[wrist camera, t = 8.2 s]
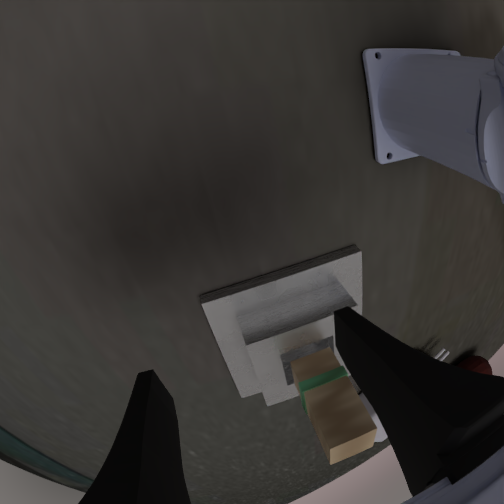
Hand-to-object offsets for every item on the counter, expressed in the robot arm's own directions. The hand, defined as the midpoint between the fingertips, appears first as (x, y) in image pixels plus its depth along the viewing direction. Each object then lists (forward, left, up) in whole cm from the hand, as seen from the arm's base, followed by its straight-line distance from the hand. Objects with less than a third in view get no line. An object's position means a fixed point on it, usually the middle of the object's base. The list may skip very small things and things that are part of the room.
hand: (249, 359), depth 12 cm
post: (-4, +10, -6) cm, 12 cm away
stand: (-4, +10, -10) cm, 15 cm away
